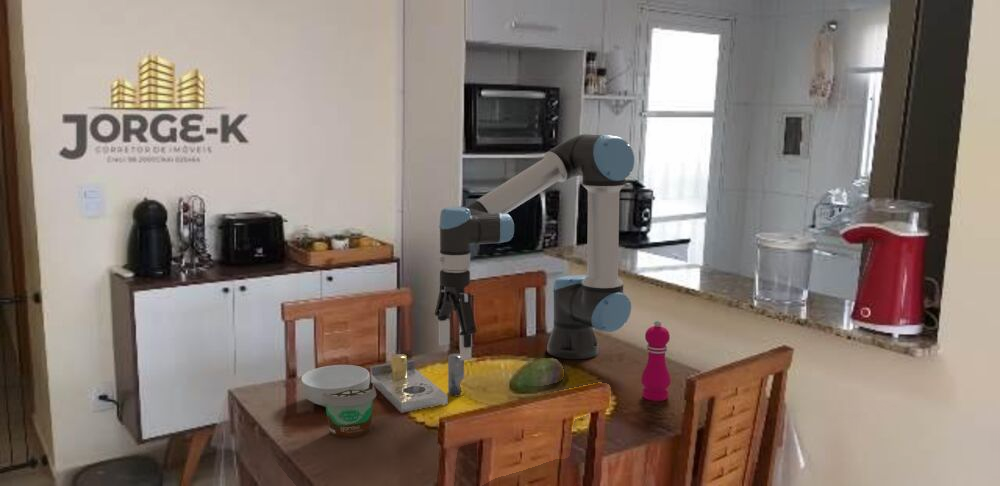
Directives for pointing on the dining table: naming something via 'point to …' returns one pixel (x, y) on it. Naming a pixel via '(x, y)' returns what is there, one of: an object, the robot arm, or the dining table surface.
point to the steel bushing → (455, 374)
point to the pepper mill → (656, 364)
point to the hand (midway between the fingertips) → (454, 351)
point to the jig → (406, 385)
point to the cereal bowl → (333, 381)
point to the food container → (349, 412)
